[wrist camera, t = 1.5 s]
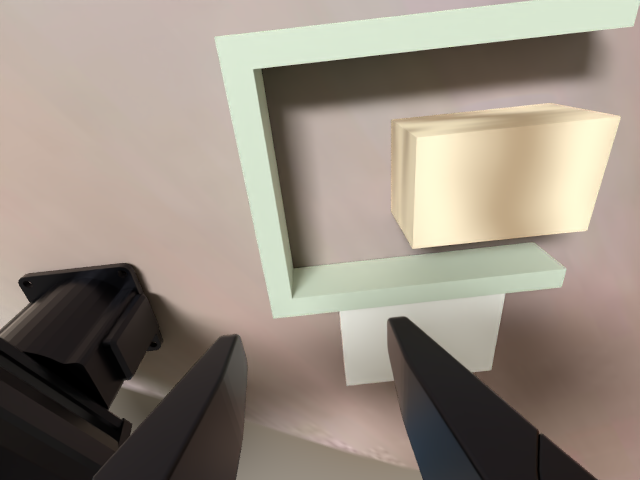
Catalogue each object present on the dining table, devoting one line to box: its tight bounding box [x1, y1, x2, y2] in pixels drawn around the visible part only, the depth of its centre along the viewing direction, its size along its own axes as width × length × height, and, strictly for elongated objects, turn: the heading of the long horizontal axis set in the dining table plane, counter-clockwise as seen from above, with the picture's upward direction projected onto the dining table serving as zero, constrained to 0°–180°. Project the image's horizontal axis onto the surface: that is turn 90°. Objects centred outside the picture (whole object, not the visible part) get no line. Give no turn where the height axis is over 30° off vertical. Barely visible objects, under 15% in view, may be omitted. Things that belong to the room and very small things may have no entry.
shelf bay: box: [215, 0, 640, 319], centre depth 17 cm, size 16×13×3 cm
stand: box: [339, 293, 505, 386], centre depth 23 cm, size 10×7×2 cm
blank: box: [391, 103, 621, 249], centre depth 17 cm, size 8×5×4 cm, turn 95°
